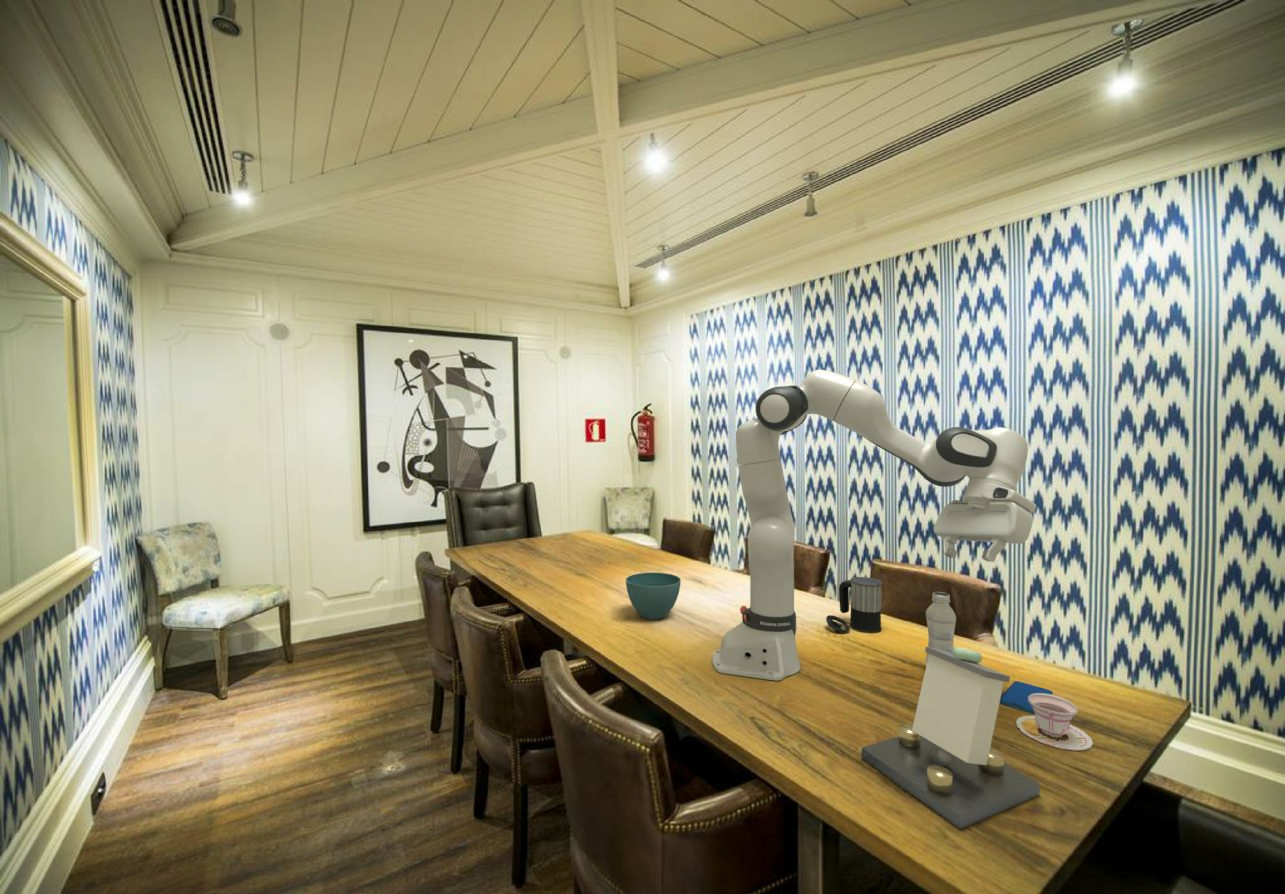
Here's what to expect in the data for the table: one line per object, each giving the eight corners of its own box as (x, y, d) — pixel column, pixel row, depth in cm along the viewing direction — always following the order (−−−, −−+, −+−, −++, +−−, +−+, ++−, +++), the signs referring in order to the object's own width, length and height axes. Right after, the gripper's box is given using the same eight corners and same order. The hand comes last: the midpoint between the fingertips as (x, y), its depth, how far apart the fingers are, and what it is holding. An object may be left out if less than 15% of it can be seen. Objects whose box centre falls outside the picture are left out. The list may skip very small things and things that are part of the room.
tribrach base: (960, 829, 78) (960, 800, 78) (861, 758, 96) (861, 734, 96) (1039, 795, 86) (1039, 768, 86) (934, 735, 103) (934, 713, 103)
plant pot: (623, 607, 182) (623, 572, 182) (675, 606, 184) (675, 571, 184) (628, 626, 164) (628, 587, 164) (685, 624, 166) (685, 585, 166)
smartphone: (1053, 691, 121) (1038, 712, 111) (1053, 695, 121) (1037, 717, 111) (1015, 680, 126) (997, 699, 116) (1015, 684, 126) (997, 703, 116)
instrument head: (964, 781, 84) (990, 659, 86) (904, 743, 95) (928, 635, 97) (988, 783, 86) (1012, 664, 89) (926, 746, 97) (949, 641, 99)
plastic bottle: (961, 681, 126) (961, 598, 126) (930, 678, 128) (930, 597, 127) (950, 669, 133) (951, 591, 132) (921, 667, 134) (922, 589, 134)
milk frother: (886, 627, 163) (886, 580, 163) (869, 642, 151) (869, 591, 151) (840, 617, 172) (840, 572, 172) (821, 630, 160) (821, 582, 160)
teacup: (1018, 712, 112) (1018, 683, 112) (1092, 732, 105) (1092, 701, 105) (1013, 736, 103) (1013, 705, 103) (1093, 760, 95) (1094, 726, 95)
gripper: (938, 494, 121) (918, 548, 118) (1021, 490, 102) (999, 555, 99) (958, 507, 122) (939, 561, 119) (1045, 505, 103) (1024, 570, 100)
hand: (967, 558), depth 109 cm, fingers open, 8 cm apart
